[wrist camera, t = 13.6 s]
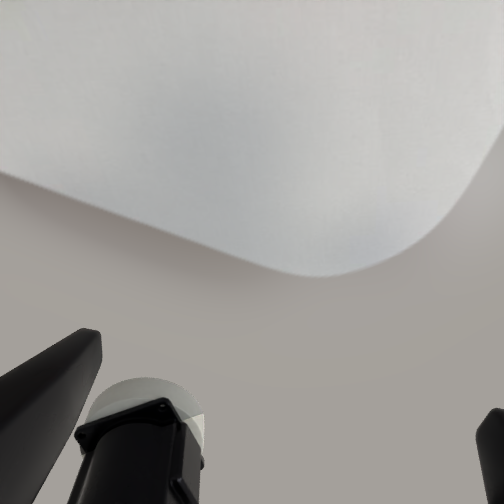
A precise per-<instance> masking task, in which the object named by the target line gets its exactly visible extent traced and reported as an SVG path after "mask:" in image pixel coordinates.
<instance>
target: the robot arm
mask: <svg viewBox="0 0 504 504" xmlns="http://www.w3.org/2000/svg"><path fill="white" fill-rule="evenodd" d="M101 363H102V341H101V334H100V332H99V331H96V330H91V329H86V328H82V329H79V330H77V331H76V332H74V333H72V334H71V335H69V336H67V337H66V338H64V339H62V340H61V341H59V342H57V343H56V344H54V345H52V346H51V347H49V348H47V349H46V350H44V351H43V352H41V353H39V354H38V355H36V356H34V357H33V358H31V359H29V360H28V361H26V362H24V363H23V364H21V365H19V366H18V367H16V368H14V369H13V370H11V371H9V372H8V373H6V374H4V375H3V376H1V377H0V504H32V503H33V502H34V500H35V498H36V496H37V494H38V493H39V491H40V489H41V487H42V485H43V484H44V482H45V480H46V478H47V476H48V474H49V473H50V471H51V469H52V467H53V466H54V464H55V462H56V460H57V458H58V457H59V455H60V453H61V451H62V449H63V448H64V446H65V444H66V442H67V440H68V439H69V437H70V435H71V433H72V431H73V429H74V427H75V425H76V422H77V420H78V418H79V416H80V413H81V411H82V408H83V406H84V404H85V402H86V399H87V397H88V394H89V392H90V390H91V387H92V385H93V383H94V380H95V378H96V376H97V373H98V371H99V369H100V366H101ZM160 405H165V406H164V407H163V406H160ZM82 433H84V434H82ZM74 438H75V439H76V441H77V442H78V443H79V445H80V446H81V448H82V449H83V450H84V452H85V456H84V459H83V462H82V464H81V467H80V470H79V472H78V475H77V478H76V481H75V483H74V486H73V489H72V492H71V494H70V497H69V500H68V503H67V504H199V486H200V484H199V483H200V470H202V469H203V468H204V458H203V456H202V455H201V447H200V446H199V444H198V442H197V440H196V438H195V437H194V435H193V433H192V431H191V430H190V428H189V426H188V424H187V423H185V422H184V421H182V420H181V418H180V416H179V415H178V413H177V411H176V409H175V408H174V406H173V404H172V402H171V401H170V400H169V399H168V398H166V397H161V398H158V399H155V400H152V401H149V402H146V403H143V404H140V405H138V406H135V407H132V408H129V409H126V410H123V411H120V412H117V413H115V414H112V415H109V416H106V417H103V418H100V419H97V420H94V421H92V422H89V423H86V424H83V425H80V426H78V427H77V428H76V431H75V433H74ZM476 444H477V449H478V454H479V459H480V465H481V470H482V475H483V480H484V485H485V491H486V496H487V500H488V504H504V409H500V408H494V409H492V410H491V411H490V412H489V413H488V415H487V416H486V418H485V419H484V421H483V422H482V423H481V425H480V426H479V427H478V429H477V432H476Z"/></svg>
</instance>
